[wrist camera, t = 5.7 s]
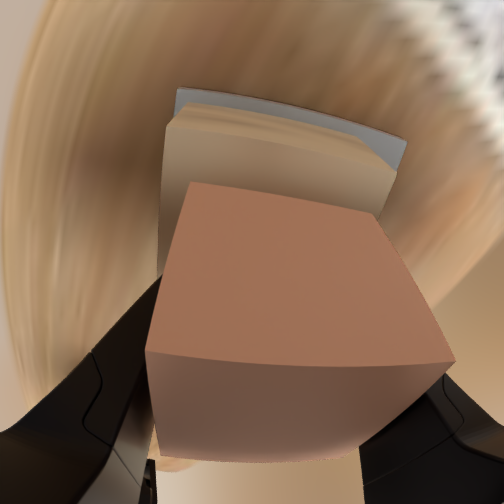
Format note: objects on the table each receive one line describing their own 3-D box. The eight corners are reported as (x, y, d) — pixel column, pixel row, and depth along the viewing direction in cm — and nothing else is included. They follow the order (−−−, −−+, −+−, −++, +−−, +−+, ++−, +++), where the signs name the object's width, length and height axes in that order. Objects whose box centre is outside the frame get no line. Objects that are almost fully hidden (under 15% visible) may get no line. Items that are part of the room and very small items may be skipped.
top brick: (316, 330, 11) (342, 457, 7) (178, 316, 11) (160, 455, 7) (372, 213, 8) (455, 361, 4) (190, 181, 8) (144, 349, 4)
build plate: (322, 318, 20) (324, 325, 19) (162, 300, 18) (161, 307, 18) (401, 138, 13) (407, 141, 12) (179, 86, 11) (177, 88, 11)
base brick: (310, 265, 16) (326, 324, 13) (172, 246, 15) (157, 306, 12) (356, 136, 12) (397, 173, 9) (188, 102, 11) (166, 126, 8)
